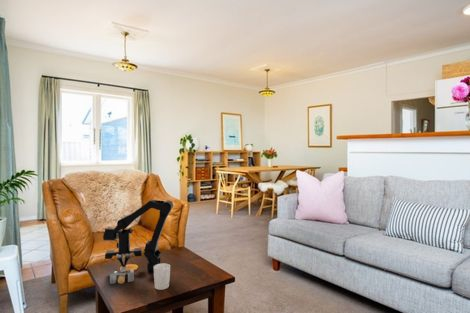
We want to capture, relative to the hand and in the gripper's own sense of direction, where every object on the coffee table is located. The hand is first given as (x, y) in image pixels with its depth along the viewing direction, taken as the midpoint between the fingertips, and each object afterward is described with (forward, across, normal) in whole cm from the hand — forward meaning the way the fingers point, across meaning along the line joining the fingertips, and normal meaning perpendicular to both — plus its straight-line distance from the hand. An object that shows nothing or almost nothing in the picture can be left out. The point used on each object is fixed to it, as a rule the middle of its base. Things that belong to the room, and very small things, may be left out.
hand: (124, 268), depth 165 cm
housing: (+1, 0, +12) cm, 12 cm away
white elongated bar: (+1, 0, +9) cm, 9 cm away
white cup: (+1, -19, +25) cm, 32 cm away
